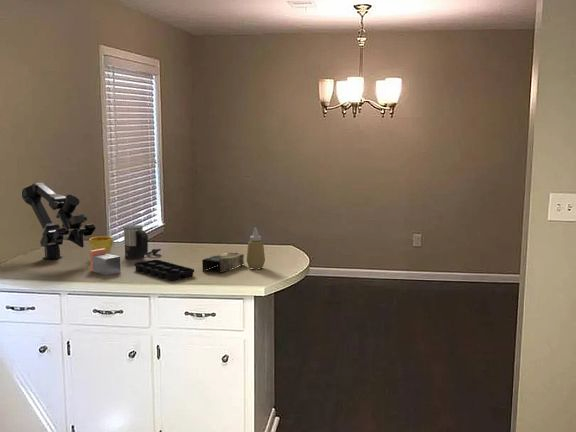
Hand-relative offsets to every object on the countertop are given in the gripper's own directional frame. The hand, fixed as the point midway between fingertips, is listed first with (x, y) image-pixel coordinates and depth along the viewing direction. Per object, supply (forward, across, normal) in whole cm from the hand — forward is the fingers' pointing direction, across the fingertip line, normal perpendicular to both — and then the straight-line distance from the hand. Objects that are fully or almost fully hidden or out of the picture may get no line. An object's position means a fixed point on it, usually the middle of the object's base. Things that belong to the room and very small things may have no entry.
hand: (82, 246), depth 300 cm
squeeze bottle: (+50, +46, -38) cm, 78 cm away
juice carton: (+42, +38, -30) cm, 64 cm away
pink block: (+17, 0, -6) cm, 18 cm away
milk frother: (+8, +30, +4) cm, 32 cm away
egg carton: (+34, +14, -21) cm, 42 cm away
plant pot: (+1, +14, +12) cm, 19 cm away
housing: (+19, 0, -7) cm, 20 cm away
